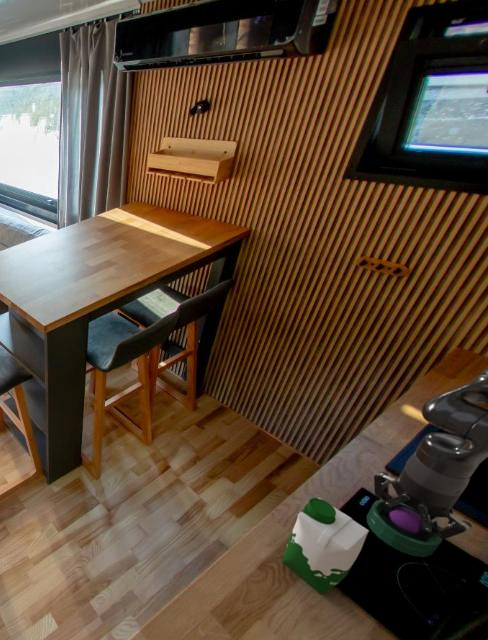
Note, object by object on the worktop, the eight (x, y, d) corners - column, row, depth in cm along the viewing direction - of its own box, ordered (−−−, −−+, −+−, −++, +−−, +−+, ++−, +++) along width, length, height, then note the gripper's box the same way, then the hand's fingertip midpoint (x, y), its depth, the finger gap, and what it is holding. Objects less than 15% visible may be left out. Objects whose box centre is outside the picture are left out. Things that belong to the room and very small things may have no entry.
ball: (394, 512, 85) (402, 499, 83) (425, 532, 81) (434, 519, 78) (380, 520, 84) (388, 507, 82) (411, 542, 80) (420, 529, 77)
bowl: (381, 506, 89) (389, 492, 87) (443, 547, 80) (454, 533, 78) (354, 523, 87) (361, 509, 85) (415, 567, 78) (425, 553, 76)
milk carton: (297, 540, 86) (320, 487, 77) (348, 580, 78) (379, 526, 70) (274, 560, 83) (295, 507, 75) (324, 603, 75) (354, 549, 67)
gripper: (500, 500, 69) (462, 550, 77) (396, 444, 82) (371, 491, 89) (477, 516, 68) (440, 565, 75) (375, 457, 80) (351, 504, 88)
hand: (403, 525), depth 82 cm, fingers closed on ball, 4 cm apart
